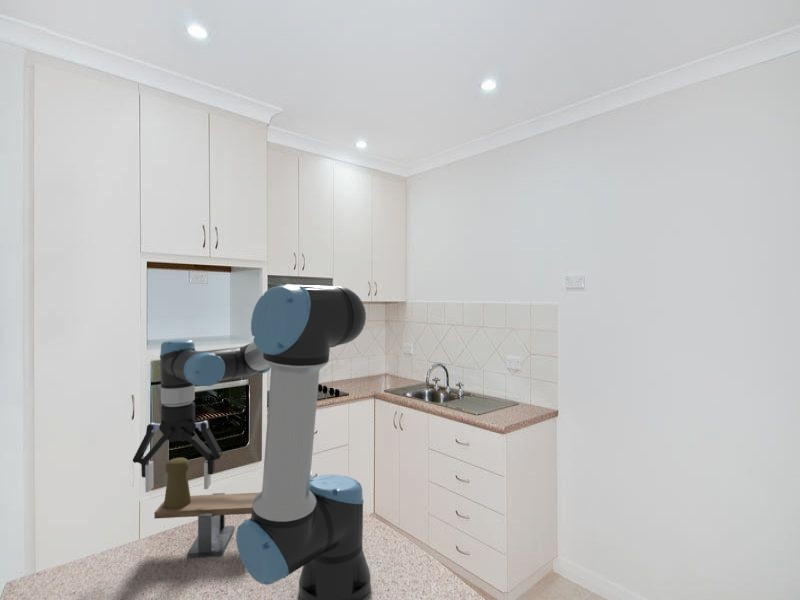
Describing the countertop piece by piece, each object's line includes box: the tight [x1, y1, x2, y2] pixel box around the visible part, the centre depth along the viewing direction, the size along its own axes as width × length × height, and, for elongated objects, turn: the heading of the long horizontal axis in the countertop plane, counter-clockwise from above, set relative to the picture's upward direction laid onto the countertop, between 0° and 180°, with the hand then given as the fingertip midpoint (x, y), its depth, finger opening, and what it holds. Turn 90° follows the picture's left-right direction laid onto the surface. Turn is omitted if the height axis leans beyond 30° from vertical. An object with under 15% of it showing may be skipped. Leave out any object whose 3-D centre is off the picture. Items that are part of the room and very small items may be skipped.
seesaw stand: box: [186, 492, 236, 559], centre depth 111 cm, size 12×8×10 cm
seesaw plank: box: [153, 492, 260, 520], centre depth 111 cm, size 9×24×2 cm, turn 97°
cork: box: [163, 457, 191, 509], centre depth 110 cm, size 6×6×11 cm
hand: (178, 488), depth 110 cm, fingers open, 13 cm apart
